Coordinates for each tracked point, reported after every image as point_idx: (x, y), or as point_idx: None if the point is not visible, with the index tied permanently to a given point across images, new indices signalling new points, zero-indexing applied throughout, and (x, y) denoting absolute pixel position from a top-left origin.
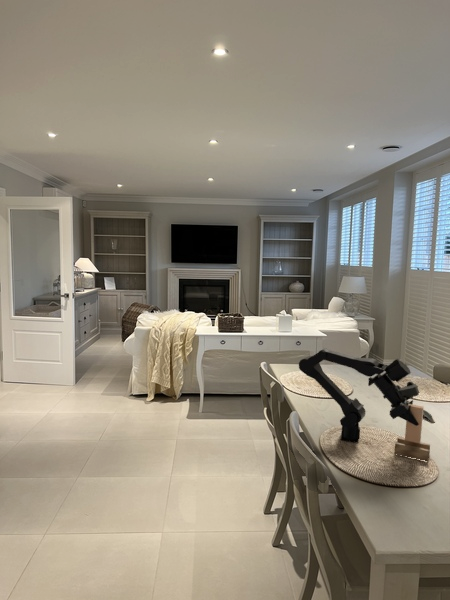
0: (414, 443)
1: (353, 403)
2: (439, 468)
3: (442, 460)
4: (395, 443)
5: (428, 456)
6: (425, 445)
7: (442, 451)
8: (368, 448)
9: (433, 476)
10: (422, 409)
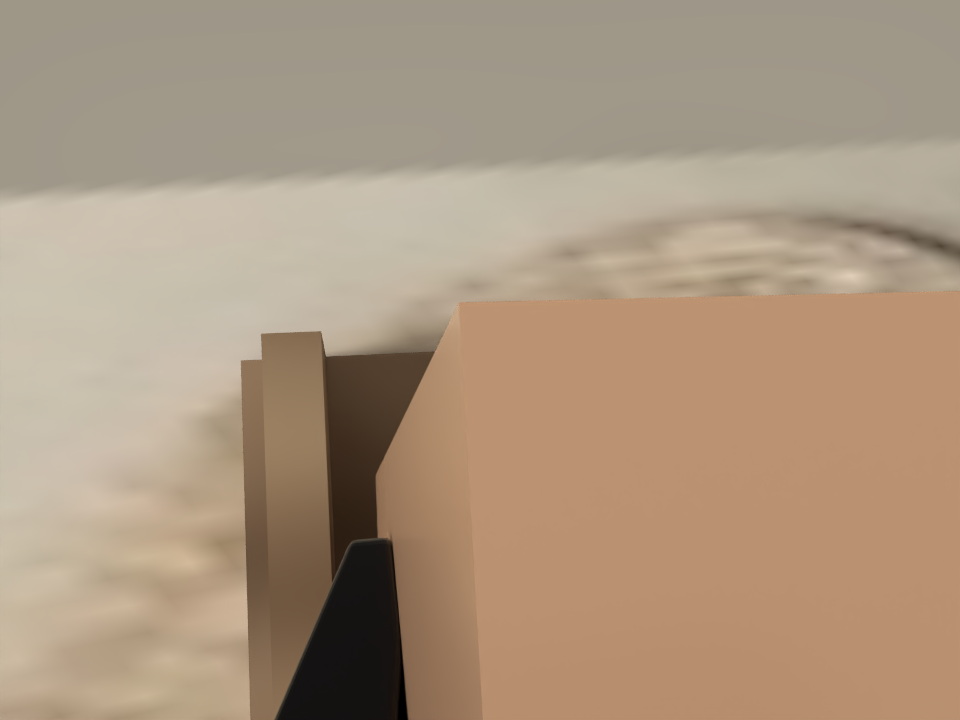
0: (331, 581)
1: None
2: (604, 213)
3: (351, 199)
4: None
5: (434, 352)
6: (323, 401)
7: (33, 221)
8: None
9: (839, 252)
10: None
